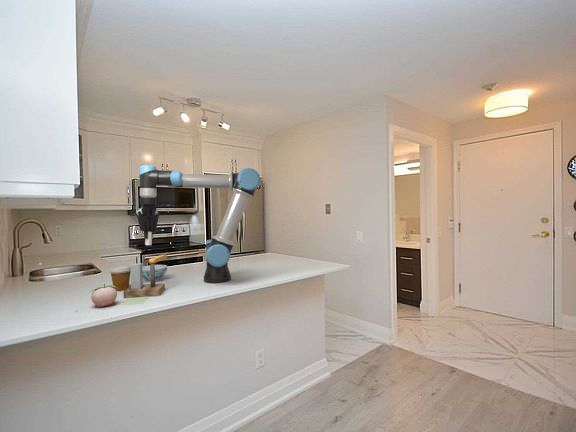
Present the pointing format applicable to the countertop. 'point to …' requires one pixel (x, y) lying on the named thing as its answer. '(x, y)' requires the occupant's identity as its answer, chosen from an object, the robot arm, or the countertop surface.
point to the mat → (134, 301)
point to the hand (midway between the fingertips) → (148, 244)
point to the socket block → (146, 287)
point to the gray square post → (136, 276)
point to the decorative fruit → (104, 295)
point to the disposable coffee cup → (120, 277)
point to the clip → (157, 258)
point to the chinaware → (159, 272)
